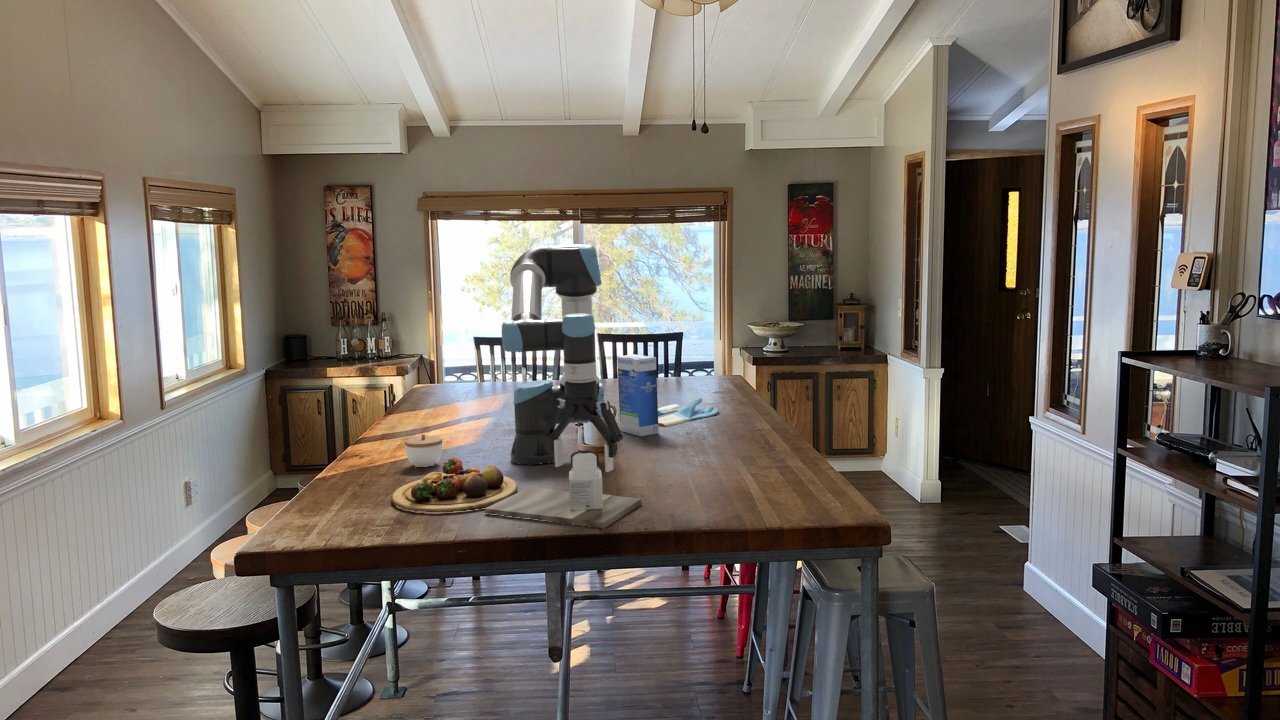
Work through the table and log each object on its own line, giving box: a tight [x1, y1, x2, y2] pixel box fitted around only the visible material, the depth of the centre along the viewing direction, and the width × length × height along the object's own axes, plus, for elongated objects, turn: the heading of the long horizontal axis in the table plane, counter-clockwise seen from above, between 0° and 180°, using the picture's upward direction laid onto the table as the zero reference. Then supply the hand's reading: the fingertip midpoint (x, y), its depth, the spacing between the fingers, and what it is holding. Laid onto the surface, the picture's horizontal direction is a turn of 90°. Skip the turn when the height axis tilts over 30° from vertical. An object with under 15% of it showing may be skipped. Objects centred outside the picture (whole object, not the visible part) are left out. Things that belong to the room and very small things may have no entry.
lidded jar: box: [404, 433, 443, 466], centre depth 267 cm, size 11×11×9 cm
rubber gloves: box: [658, 397, 720, 428], centre depth 333 cm, size 27×33×6 cm
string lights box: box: [616, 353, 660, 437], centre depth 303 cm, size 13×8×26 cm, turn 34°
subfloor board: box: [484, 486, 643, 530], centre depth 219 cm, size 32×20×2 cm, turn 65°
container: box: [568, 449, 604, 510], centre depth 215 cm, size 8×8×13 cm
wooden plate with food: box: [390, 456, 518, 512], centre depth 233 cm, size 32×32×8 cm
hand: (584, 468), depth 215 cm, fingers open, 13 cm apart
